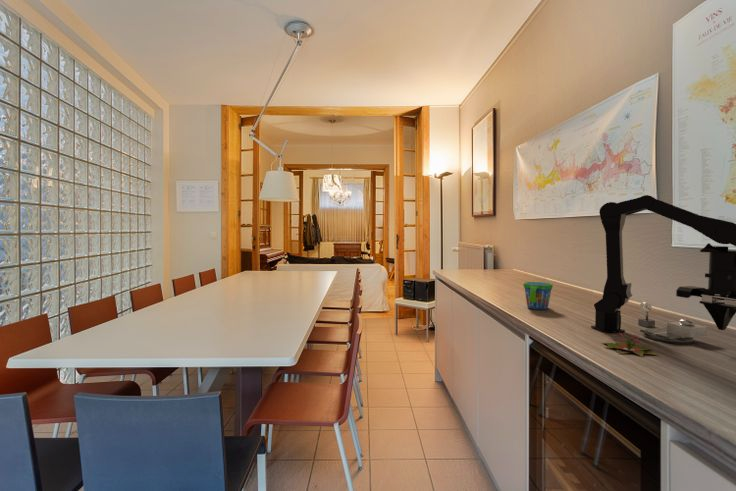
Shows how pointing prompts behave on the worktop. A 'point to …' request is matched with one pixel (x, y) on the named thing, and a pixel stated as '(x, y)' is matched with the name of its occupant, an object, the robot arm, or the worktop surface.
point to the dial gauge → (646, 315)
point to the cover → (687, 328)
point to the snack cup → (537, 294)
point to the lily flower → (629, 346)
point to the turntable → (666, 336)
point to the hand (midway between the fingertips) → (721, 329)
